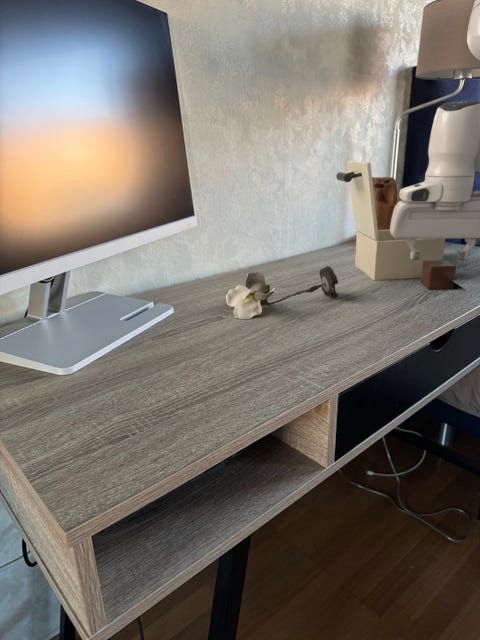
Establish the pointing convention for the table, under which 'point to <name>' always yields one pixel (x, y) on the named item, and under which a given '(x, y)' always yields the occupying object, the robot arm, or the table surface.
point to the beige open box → (394, 256)
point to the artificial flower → (270, 293)
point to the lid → (362, 197)
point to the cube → (438, 274)
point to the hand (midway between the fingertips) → (437, 259)
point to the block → (384, 200)
